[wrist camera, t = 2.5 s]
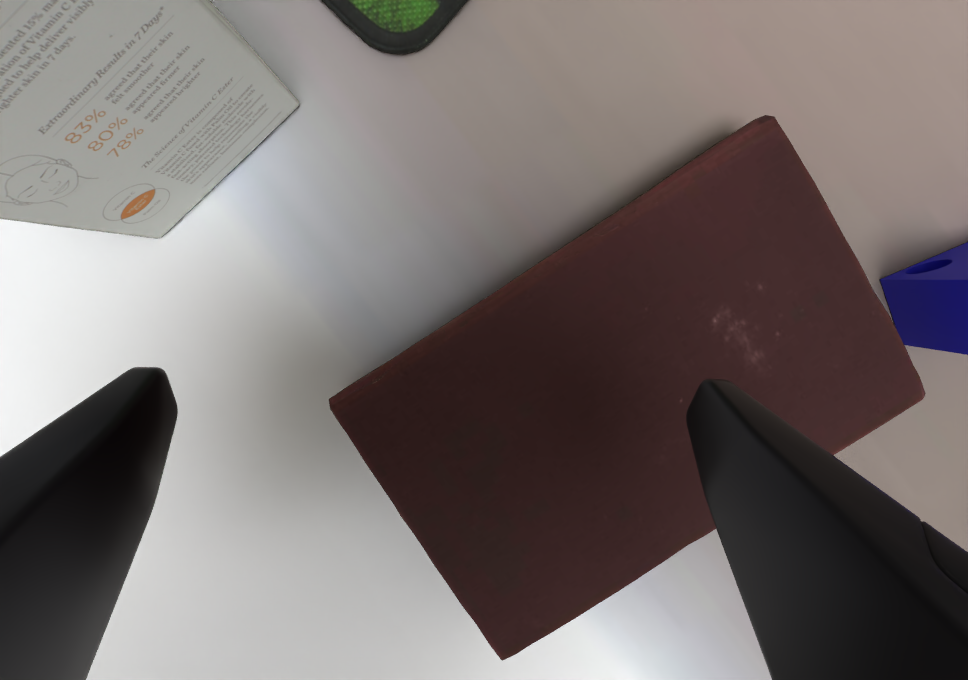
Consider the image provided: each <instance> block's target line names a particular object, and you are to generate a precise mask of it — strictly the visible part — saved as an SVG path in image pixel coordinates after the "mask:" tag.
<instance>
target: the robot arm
mask: <svg viewBox="0 0 968 680" xmlns="http://www.w3.org/2000/svg"><path fill="white" fill-rule="evenodd" d="M177 413H178V409H177V403H176V400H175V397H174V394H173V391H172V388H171V386H170V383H169V380H168V377H167V375H166V373H165V371H164V370H163V369H161V368H157V367H135V368H132V369H130V370H128V371H126V372H125V373H123V374H122V375H120V376H119V377H118V378H116V379H115V380H113V381H112V382H110V383H109V384H107V385H106V386H104V387H103V388H101V389H100V390H98V391H97V392H95V393H94V394H92V395H91V396H90V397H88V398H87V399H85V400H84V401H82V402H81V403H79V404H78V405H76V406H75V407H73V408H72V409H70V410H69V411H67V412H66V413H64V414H63V415H61V416H60V417H59V418H57V419H56V420H54V421H53V422H51V423H50V424H48V425H47V426H45V427H44V428H42V429H41V430H39V431H38V432H36V433H35V434H33V435H32V436H31V437H29V438H28V439H26V440H25V441H23V442H22V443H20V444H19V445H17V446H16V447H14V448H13V449H11V450H10V451H8V452H7V453H5V454H4V455H2V456H1V457H0V680H86V678H87V675H88V673H89V670H90V667H91V665H92V662H93V660H94V657H95V655H96V652H97V650H98V647H99V645H100V642H101V640H102V637H103V634H104V632H105V629H106V627H107V624H108V622H109V619H110V617H111V614H112V612H113V609H114V607H115V604H116V602H117V599H118V596H119V594H120V591H121V589H122V586H123V584H124V581H125V579H126V576H127V574H128V571H129V569H130V566H131V563H132V561H133V558H134V556H135V553H136V551H137V548H138V546H139V543H140V541H141V538H142V536H143V533H144V530H145V528H146V525H147V523H148V520H149V518H150V515H151V512H152V509H153V507H154V503H155V500H156V497H157V493H158V489H159V486H160V482H161V478H162V474H163V470H164V466H165V462H166V459H167V455H168V451H169V447H170V443H171V439H172V435H173V432H174V428H175V424H176V420H177ZM686 423H687V427H688V431H689V435H690V439H691V443H692V447H693V451H694V455H695V459H696V463H697V467H698V471H699V475H700V479H701V483H702V487H703V491H704V494H705V498H706V501H707V504H708V507H709V510H710V512H711V515H712V518H713V521H714V523H715V526H716V529H717V531H718V534H719V537H720V539H721V542H722V545H723V548H724V550H725V553H726V556H727V558H728V561H729V564H730V567H731V569H732V572H733V575H734V577H735V580H736V583H737V586H738V588H739V591H740V594H741V596H742V599H743V602H744V604H745V607H746V610H747V613H748V615H749V618H750V621H751V623H752V626H753V629H754V632H755V634H756V637H757V640H758V642H759V645H760V648H761V651H762V653H763V656H764V659H765V661H766V664H767V667H768V669H769V672H770V675H771V678H772V680H968V552H967V551H965V550H964V549H962V548H961V547H960V546H958V545H957V544H955V543H954V542H952V541H951V540H950V539H948V538H947V537H945V536H944V535H943V534H941V533H940V532H938V531H937V530H936V529H934V528H933V527H932V526H930V525H929V524H927V523H926V522H921V520H920V518H919V517H918V516H916V515H915V514H913V513H912V512H911V511H909V510H908V509H906V508H905V507H904V506H902V505H901V504H900V503H898V502H897V501H895V500H894V499H893V498H891V497H890V496H888V495H887V494H886V493H884V492H883V491H881V490H880V489H879V488H877V487H876V486H875V485H873V484H872V483H870V482H869V481H868V480H866V479H865V478H863V477H862V476H861V475H859V474H858V473H857V472H855V471H854V470H852V469H851V468H850V467H848V466H847V465H845V464H844V463H843V462H841V461H840V460H838V459H837V458H836V457H834V456H833V455H832V454H830V453H829V452H827V451H826V450H825V449H823V448H822V447H820V446H819V445H818V444H816V443H815V442H814V441H812V440H811V439H809V438H808V437H807V436H805V435H804V434H802V433H801V432H800V431H798V430H797V429H795V428H794V427H793V426H791V425H790V424H789V423H787V422H786V421H784V420H783V419H782V418H780V417H779V416H777V415H776V414H775V413H773V412H772V411H771V410H769V409H768V408H766V407H765V406H764V405H762V404H761V403H759V402H758V401H757V400H755V399H754V398H752V397H751V396H750V395H748V394H747V393H746V392H744V391H743V390H741V389H740V388H739V387H737V386H736V385H734V384H733V383H732V382H730V381H728V380H725V379H706V380H704V381H703V382H701V384H700V385H699V387H698V389H697V391H696V393H695V395H694V397H693V399H692V401H691V403H690V405H689V408H688V410H687V414H686Z"/></svg>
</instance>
